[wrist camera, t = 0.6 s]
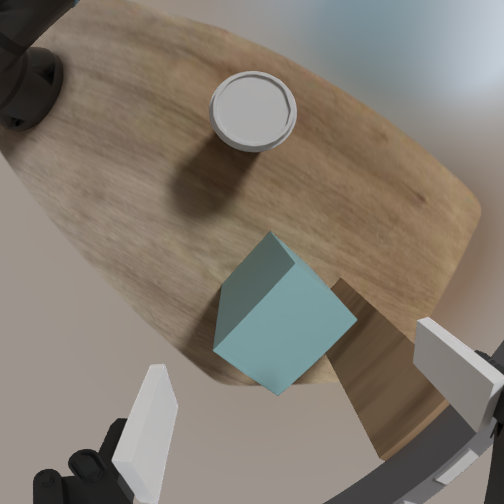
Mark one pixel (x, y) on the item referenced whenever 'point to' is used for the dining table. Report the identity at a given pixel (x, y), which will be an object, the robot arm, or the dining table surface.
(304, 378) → the dining table surface
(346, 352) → the walnut stand
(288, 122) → the disposable coffee cup
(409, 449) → the power strip
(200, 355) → the dining table surface
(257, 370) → the teal block
